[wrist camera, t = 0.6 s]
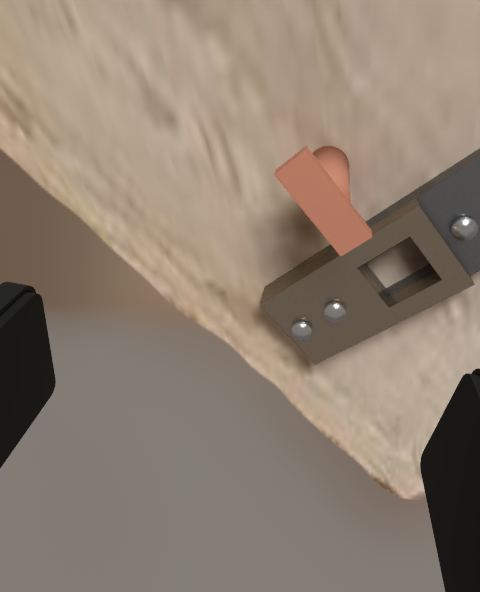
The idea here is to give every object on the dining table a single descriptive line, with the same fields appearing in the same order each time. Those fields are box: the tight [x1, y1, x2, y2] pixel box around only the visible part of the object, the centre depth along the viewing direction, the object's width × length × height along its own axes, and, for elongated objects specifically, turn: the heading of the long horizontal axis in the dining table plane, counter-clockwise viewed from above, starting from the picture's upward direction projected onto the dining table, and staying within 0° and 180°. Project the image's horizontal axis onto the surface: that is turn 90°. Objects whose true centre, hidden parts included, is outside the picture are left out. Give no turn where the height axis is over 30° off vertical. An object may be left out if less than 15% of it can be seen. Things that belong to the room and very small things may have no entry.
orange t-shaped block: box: [274, 146, 373, 256], centre depth 32 cm, size 3×7×8 cm, turn 42°
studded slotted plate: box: [260, 149, 480, 364], centre depth 36 cm, size 22×8×4 cm, turn 132°
